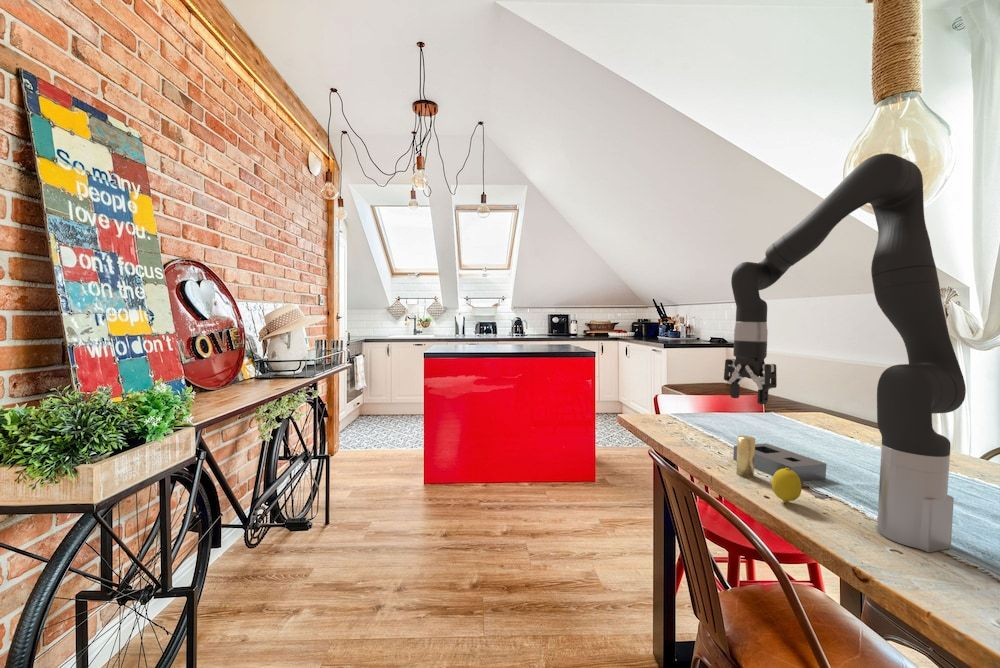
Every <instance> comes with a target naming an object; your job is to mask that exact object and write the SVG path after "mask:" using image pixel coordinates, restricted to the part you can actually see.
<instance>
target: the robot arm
mask: <svg viewBox="0 0 1000 668" xmlns="http://www.w3.org/2000/svg"><path fill="white" fill-rule="evenodd" d="M923 181H924V179H923V175H922V170H921V169H920V168H919V166H918V165H917V164H916V163H914V162H912V161H910V160H908V159H906V158H904V157H901V156H899V155H896V154H894V153H888V152H887V153H886V152H885V153H879V154H875V155H873V156H870V157H868V158H867V159H865V160H864V161H862V162H861V163H860V164H859V165H858V166H857V167H855V168H854V169H853V170H852V171H851V172H850V173H849V174H848V175H847V176H846V177H845V178H844V179H842V180H841V182H840V183H839V184H838V185H837V186H836V187H835V188H834V189H833V190H832V191H831V192H830V193H829V194H828V195H827V196H826V197H825V198H824V199H823V200H822V201H821V202H820V203H819V204H818V205H817V206H816V207H815V208H814V209H813V210H812V211H811V212H810V213H808V215H807V216H806V217H805V218H803V219H802V220H801V221H800V222H799V223H798V224H796V225H795V226H794V227H793V228H791V229H790V230H788V232H786V233H784V234H783V235H782V236H780V237H779V238H778V239H777V240H775V241H774V242H772V244H770V245H769V246H768V247H767V248H766V250H765V252H764V253H765V257H764V258H763V259H762V260H760V261H759V262H752V261H744V262H741V263H739V264H738V265H736V267H735V268H734V270H733V271H732V273H731V282H730V283H731V289H732V294H733V298H734V302H735V306H736V310H735V311H736V312H735V326H734V332H733V357H735V359H734V358H726V359H725V360H724V361H725V362H724V369H723V370H724V372H723V380H724V381H727V382H728V383H729V395H730V398H731V399H732V398H733V399H739V398H740V387H741V386H740V383H741V382H742V380H743V379H745V378H747V379H751V381H752V382H754V383H755V384H756V387H757V388H758V389H757V401H756V402H757V404H759V405H767V403H768V402H769V390H770V389H771V390H772V389H776V388H777V380H778V379H777V378H778V377H777V365H776V363H765V359H766V358H767V355H768V353H767V352H768V334H769V332H768V323H767V322H768V304H767V302H766V300H763V299H762V298H761V296H760V291H762V290H765V289H768V288H770V287H771V286H772V285H774V284H775V283H776V282H778V281H779V280H780V279H781V277H782V276H784V274H785V273H786V272H787V271H788V270H789V269H790V268H791V267H792V266H794V265H796V264H797V263H799V262H800V261H801V260H803V259H804V258H806V257H807V256H808V255H810V254H812V252H814V251H815V250H816V249H817V248H818V247H819V246H820V245H822V243H823V242H824V241H825V240H826V238H827V237H828V236H829V234H830V233H831V232H832V231H833V229H834V228H835V227H836V226H838V224H839V223H840V222H841V221H843V220H844V219H845V218H846V217H847V216H849V215H850V214H851V213H853V212H855V211H856V210H858V209H860V208H862V207H863V206H865V205H867V204H870V205H871V207H872V210H873V213H874V216H875V221H876V224H877V225H876V226H877V232H878V233H877V234H878V237H877V241H876V242H877V243H876V247H875V248H874V249H875V250H874V252H873V255H872V261H871V266H870V267H871V268H870V269H871V270H870V271H871V273H870V274H871V280H872V286H873V291H874V298H875V301H876V303H877V305H878V307H879V308H880V310H881V311H882V313H883V315H885V317H886V318H887V319H888V321H889V322H890V323H891V324H892V326H893V327H894V328H895V330H896V331H897V332H898V334H899V335H900V337H901V339H902V341H903V342H904V347H905V349H906V355H907V360H908V364H907V363H905V364H903V363H902V364H895V365H891V366H889V367H887V368H886V369H885V370H883V372H882V373H881V375H880V377H879V378H878V380H877V381H878V382H877V387H876V418H877V419H876V422H877V428H878V431H879V433H880V435H881V449H880V451H881V452H880V465H879V467H880V468H879V482H878V483H879V484H878V487H879V488H878V502H877V504H878V505H877V518H876V519H877V520H876V521H877V525H876V529H877V530H876V531H878V533H879V534H880V535H882V536H883V537H885V538H887V539H889V540H891V541H893V542H895V543H898V544H900V545H903V546H906V547H910V548H914V549H918V550H921V551H924V552H927V553H934V552H938V551H943V550H947V549H951V548H952V533H953V532H952V531H953V517H954V504H955V503H954V501H955V499H954V497H953V496H951V495H949V494H948V493H949V489H948V488H949V477H950V476H949V474H950V461H951V460H950V459H951V442H950V439H949V438H947V437H946V436H944V435H942V434H939V433H937V432H936V431H935V430H934V427H933V414H948V413H952V412H954V411H956V410H957V409H959V408H960V407H961V406H962V404H963V403H964V401H965V399H966V393H967V388H966V383H965V382H966V381H965V379H964V375H963V372H962V369H961V365H960V363H959V361H958V358H957V355H956V353H955V349H954V347H953V343H952V340H951V335H950V333H949V329H948V324H947V320H946V315H945V310H944V306H943V301H942V300H943V299H942V295H941V288H940V282H939V276H938V270H937V266H936V263H935V262H936V261H935V258H934V255H933V250H932V245H931V240H930V237H929V232H928V228H927V224H926V220H925V209H924V208H925V207H924V205H925V204H924V182H923Z"/></svg>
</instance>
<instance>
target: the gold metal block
mask: <svg viewBox="0 0 1000 668" xmlns="http://www.w3.org/2000/svg"><path fill="white" fill-rule="evenodd" d="M755 444H756V438H755V437H752V436H749V435H738V436H737V444H736V446H737V461H736V470H735V471H736V472H735V473H736V475H737V476H738V477H741V478H745V479H746V478H748V479H751V478H754V476H755V468H754V458H755Z"/></svg>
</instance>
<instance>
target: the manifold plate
mask: <svg viewBox="0 0 1000 668" xmlns="http://www.w3.org/2000/svg"><path fill="white" fill-rule="evenodd" d="M732 457H733V458H732V459H733V460H734V461H736V462H737V445H733V456H732ZM784 468H789V469H790V470H792V471H794V472H795V473H796V474H797V475H798V476H799V478H800V481H801V482H807V481H815V480H826V478H827V477H826V476H827V463H826V462H823V461H820V460H816V459H814V458H811V457H809V456H805V455H803V454H799V453H796V452H793V451H791V450H787V449H784V448H782V447H778V446H775V445H773V444H769V443H755V458H754V469H756V470H758V471H760V472H763V473H766V474H768V475H771V476H772V477H773V476H774V474H775V472H776V471H778V470H780V469H784Z"/></svg>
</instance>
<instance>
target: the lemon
mask: <svg viewBox="0 0 1000 668" xmlns="http://www.w3.org/2000/svg"><path fill="white" fill-rule="evenodd" d="M771 487H772V491H773V494H774V495H775V496H776V497H777V498H778V499H780V500H781V501H782V502H783V503H785V504H788V503H790V502H793V501H796V500H797V499H798V498H799V497H800V496H801V493H802V481H800V478H799V476H798V475H797V474H796V473H795V472H794V471H792V470H790V469H789V468H784V469H780V470H778V471H776V472H775V474H774V476H773V475H772V480H771Z"/></svg>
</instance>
